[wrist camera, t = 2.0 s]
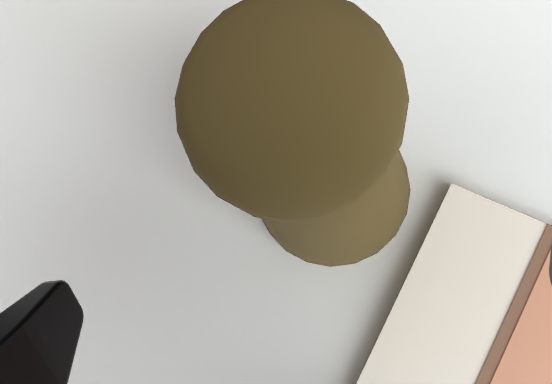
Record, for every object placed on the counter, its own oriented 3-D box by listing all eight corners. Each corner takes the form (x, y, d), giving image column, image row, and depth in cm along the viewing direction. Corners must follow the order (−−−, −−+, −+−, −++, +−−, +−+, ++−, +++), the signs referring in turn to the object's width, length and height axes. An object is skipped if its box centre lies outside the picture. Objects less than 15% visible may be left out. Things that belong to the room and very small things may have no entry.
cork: (347, 298, 20) (302, 297, 9) (229, 206, 21) (76, 115, 11) (442, 172, 20) (504, 29, 9) (317, 91, 22) (252, -108, 11)
